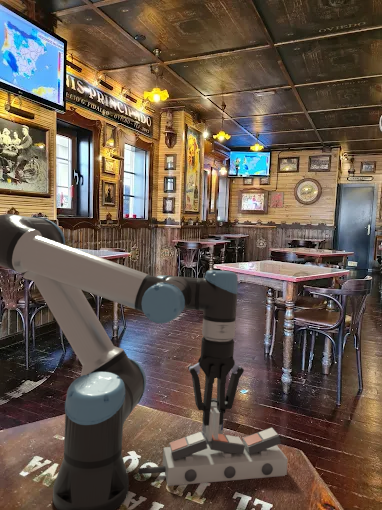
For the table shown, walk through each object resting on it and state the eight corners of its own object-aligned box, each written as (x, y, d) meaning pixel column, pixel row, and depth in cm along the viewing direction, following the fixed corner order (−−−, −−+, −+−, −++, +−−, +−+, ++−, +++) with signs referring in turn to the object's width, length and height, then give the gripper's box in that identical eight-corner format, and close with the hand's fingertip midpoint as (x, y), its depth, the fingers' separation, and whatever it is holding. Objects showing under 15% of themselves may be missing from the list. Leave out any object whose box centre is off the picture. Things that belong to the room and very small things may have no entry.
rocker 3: (249, 455, 86) (247, 446, 86) (243, 445, 90) (242, 437, 90) (280, 443, 88) (279, 435, 88) (273, 434, 92) (271, 426, 92)
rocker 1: (173, 460, 83) (171, 451, 82) (170, 450, 87) (168, 442, 86) (207, 448, 84) (205, 439, 84) (203, 438, 88) (201, 430, 88)
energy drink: (221, 442, 99) (224, 398, 99) (221, 454, 94) (224, 407, 93) (201, 440, 100) (204, 396, 99) (200, 452, 94) (203, 405, 94)
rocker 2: (210, 449, 84) (213, 440, 84) (206, 440, 88) (208, 431, 88) (242, 454, 86) (245, 445, 86) (237, 444, 90) (239, 436, 90)
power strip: (139, 489, 79) (141, 466, 79) (137, 465, 87) (138, 444, 87) (287, 476, 86) (288, 455, 86) (272, 455, 94) (273, 436, 94)
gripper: (192, 341, 80) (185, 448, 81) (252, 342, 83) (245, 445, 84) (185, 333, 88) (179, 431, 89) (240, 333, 91) (234, 428, 91)
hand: (211, 437), depth 86 cm, fingers closed, pressing on rocker 2
